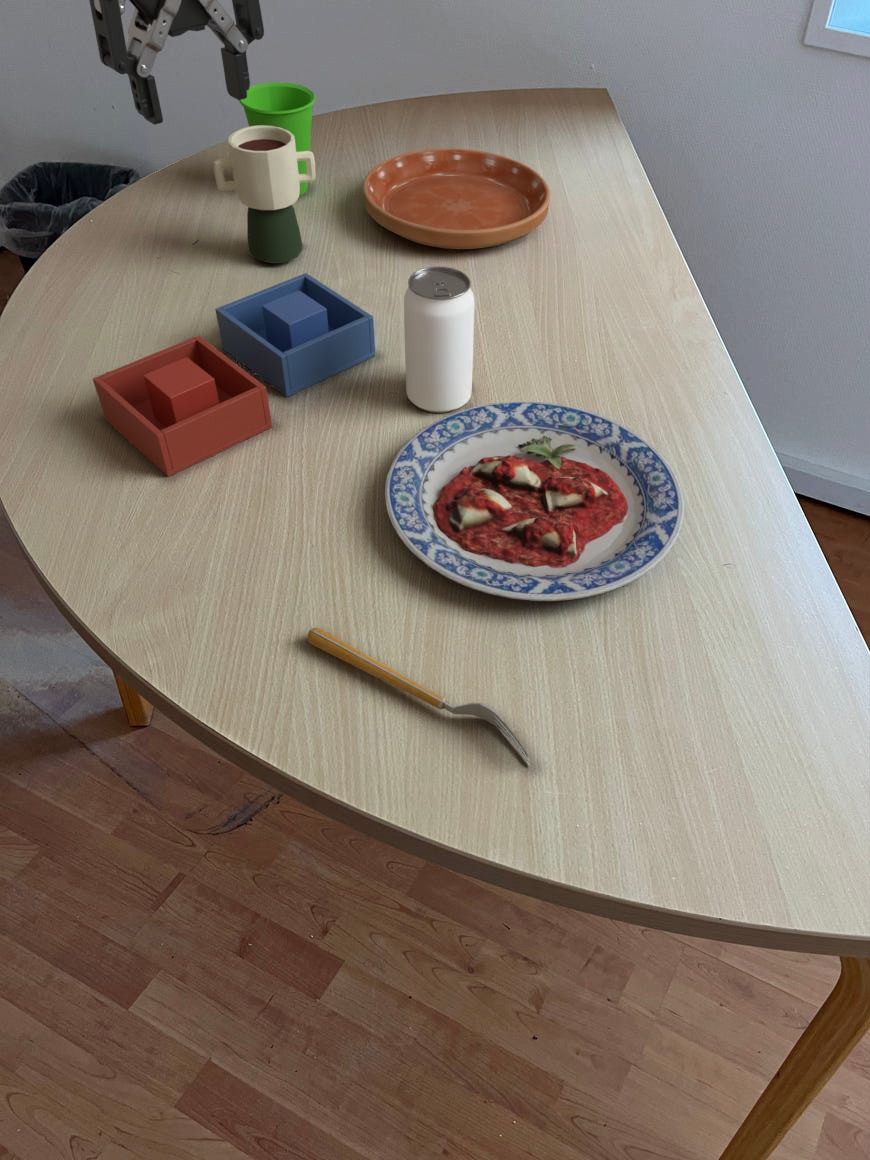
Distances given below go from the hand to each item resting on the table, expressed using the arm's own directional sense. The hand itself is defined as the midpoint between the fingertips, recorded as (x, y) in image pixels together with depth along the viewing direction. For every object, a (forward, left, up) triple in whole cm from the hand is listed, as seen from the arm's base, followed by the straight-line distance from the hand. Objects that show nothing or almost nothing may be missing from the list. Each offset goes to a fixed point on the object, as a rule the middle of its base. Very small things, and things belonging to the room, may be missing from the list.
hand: (196, 108), depth 84 cm
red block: (-12, -10, -22) cm, 27 cm away
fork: (-17, -49, -22) cm, 57 cm away
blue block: (+3, -7, -22) cm, 23 cm away
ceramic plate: (+4, -40, -22) cm, 46 cm away
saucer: (+36, +5, -22) cm, 43 cm away
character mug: (+13, +11, -22) cm, 28 cm away
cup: (+24, +24, -22) cm, 41 cm away
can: (+9, -22, -22) cm, 33 cm away
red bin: (-12, -10, -22) cm, 27 cm away
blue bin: (+3, -7, -22) cm, 23 cm away
